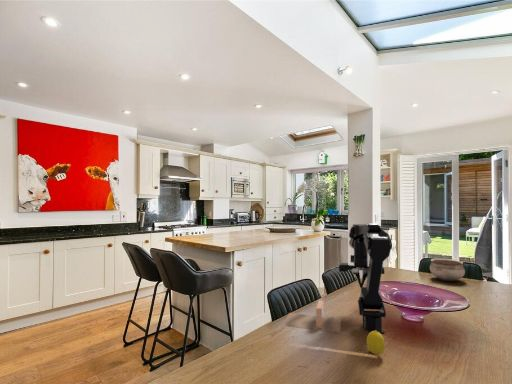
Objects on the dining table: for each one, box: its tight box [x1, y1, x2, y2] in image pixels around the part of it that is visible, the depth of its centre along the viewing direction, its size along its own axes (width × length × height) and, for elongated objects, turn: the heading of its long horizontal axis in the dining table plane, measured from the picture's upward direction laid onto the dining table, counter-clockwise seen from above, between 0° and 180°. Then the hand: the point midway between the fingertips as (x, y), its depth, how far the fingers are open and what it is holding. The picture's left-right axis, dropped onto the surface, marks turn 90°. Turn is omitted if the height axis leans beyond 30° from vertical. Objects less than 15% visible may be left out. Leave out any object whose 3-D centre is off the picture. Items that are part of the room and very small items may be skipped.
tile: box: [315, 299, 325, 328], centre depth 119 cm, size 2×10×8 cm, turn 163°
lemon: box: [366, 330, 386, 357], centre depth 95 cm, size 6×6×8 cm
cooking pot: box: [429, 258, 466, 283], centre depth 187 cm, size 25×19×12 cm
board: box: [282, 312, 342, 334], centre depth 120 cm, size 22×14×1 cm, turn 73°
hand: (361, 287), depth 129 cm, fingers closed
